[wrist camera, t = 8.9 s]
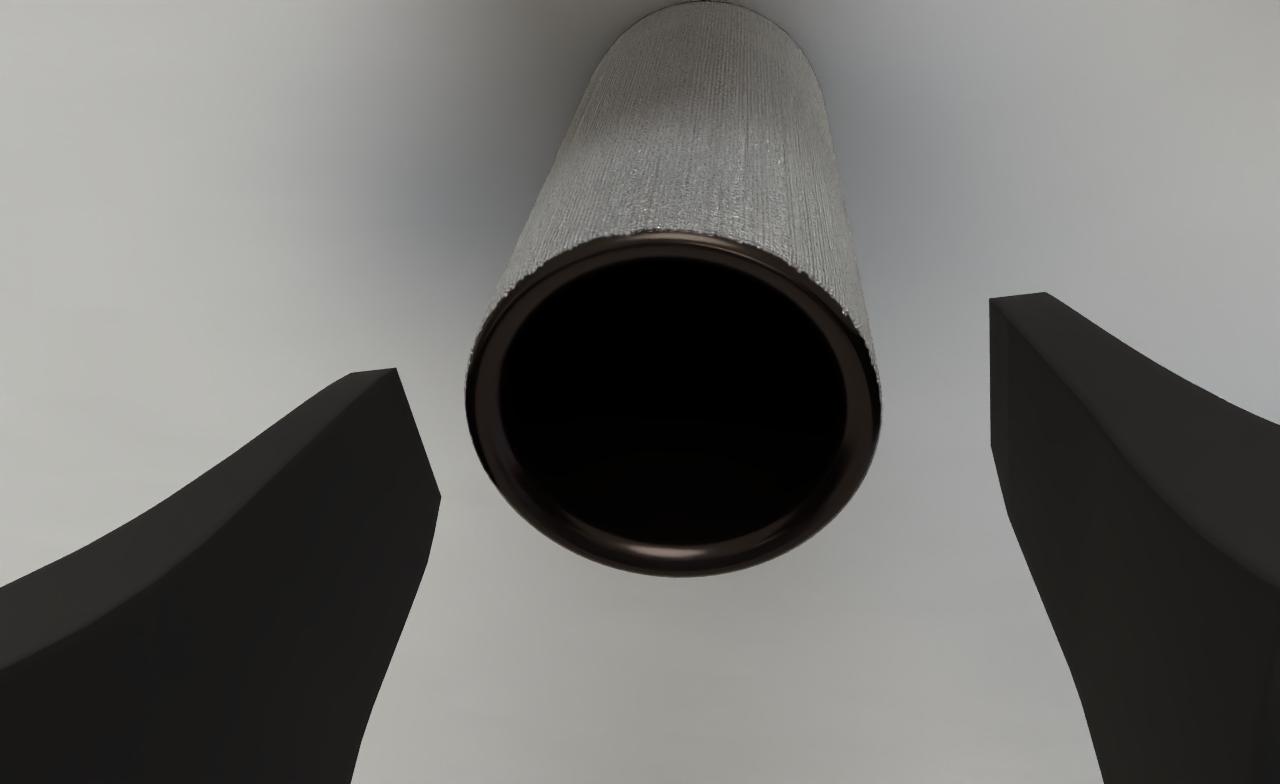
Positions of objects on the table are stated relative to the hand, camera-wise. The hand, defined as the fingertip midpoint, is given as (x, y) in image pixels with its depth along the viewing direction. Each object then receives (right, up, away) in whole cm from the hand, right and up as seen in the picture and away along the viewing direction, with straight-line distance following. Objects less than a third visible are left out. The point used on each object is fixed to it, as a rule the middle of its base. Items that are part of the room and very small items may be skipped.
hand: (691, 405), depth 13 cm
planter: (+1, +5, +7) cm, 9 cm away
